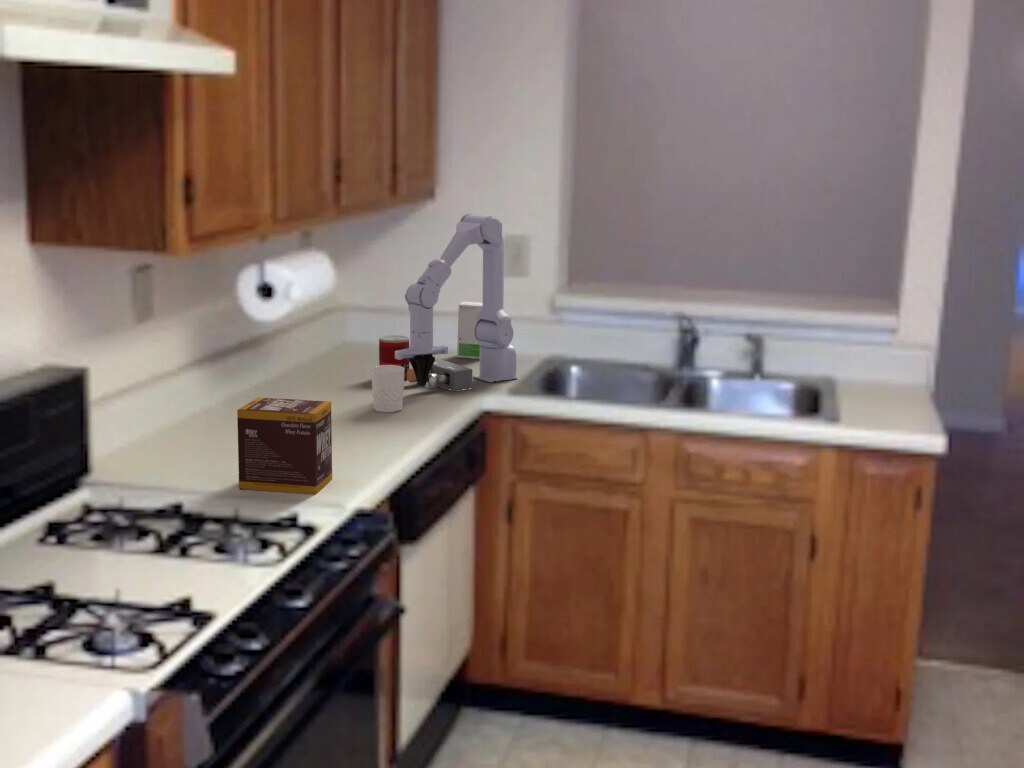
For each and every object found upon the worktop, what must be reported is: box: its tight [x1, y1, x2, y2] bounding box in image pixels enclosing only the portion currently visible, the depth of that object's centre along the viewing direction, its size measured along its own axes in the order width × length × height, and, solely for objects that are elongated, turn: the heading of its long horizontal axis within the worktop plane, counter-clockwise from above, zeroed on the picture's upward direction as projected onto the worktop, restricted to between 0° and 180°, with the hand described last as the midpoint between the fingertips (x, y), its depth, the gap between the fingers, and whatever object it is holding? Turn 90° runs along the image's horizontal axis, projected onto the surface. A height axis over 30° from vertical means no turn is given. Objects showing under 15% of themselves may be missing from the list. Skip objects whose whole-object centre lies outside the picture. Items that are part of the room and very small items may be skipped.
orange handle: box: [406, 367, 433, 384], centre depth 329 cm, size 8×4×4 cm, turn 126°
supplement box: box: [236, 397, 333, 495], centre depth 240 cm, size 10×15×16 cm
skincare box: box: [456, 301, 483, 360], centre depth 365 cm, size 8×7×16 cm
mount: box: [431, 359, 473, 392], centre depth 329 cm, size 6×15×5 cm, turn 36°
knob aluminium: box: [423, 373, 450, 389], centre depth 323 cm, size 8×4×4 cm, turn 126°
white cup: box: [370, 365, 405, 413], centre depth 301 cm, size 8×8×10 cm
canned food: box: [378, 334, 410, 381], centre depth 335 cm, size 8×8×11 cm
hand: (421, 384), depth 320 cm, fingers closed
